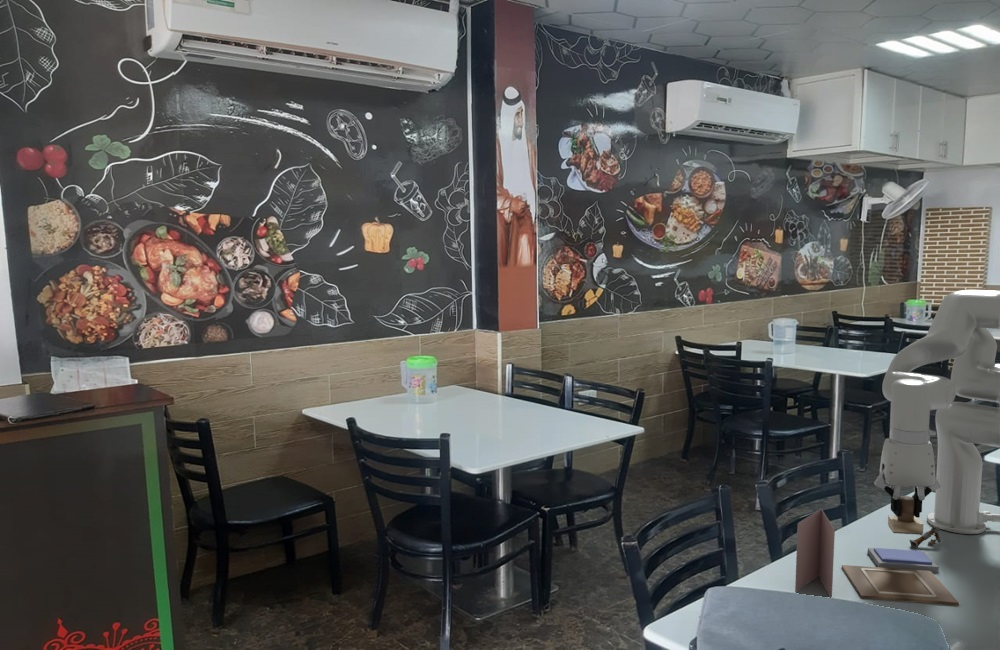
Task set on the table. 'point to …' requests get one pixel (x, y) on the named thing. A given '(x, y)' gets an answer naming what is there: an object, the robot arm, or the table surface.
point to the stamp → (906, 518)
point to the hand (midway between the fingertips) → (905, 514)
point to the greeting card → (815, 551)
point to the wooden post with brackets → (925, 536)
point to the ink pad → (902, 559)
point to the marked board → (898, 585)
